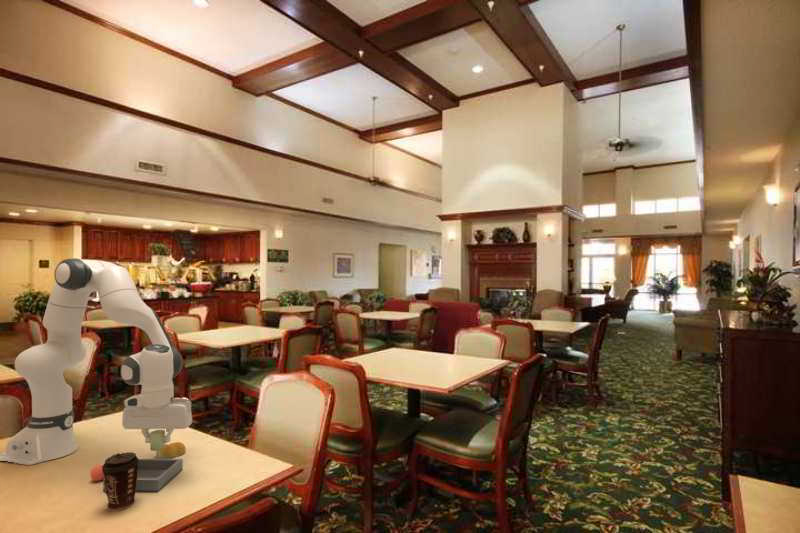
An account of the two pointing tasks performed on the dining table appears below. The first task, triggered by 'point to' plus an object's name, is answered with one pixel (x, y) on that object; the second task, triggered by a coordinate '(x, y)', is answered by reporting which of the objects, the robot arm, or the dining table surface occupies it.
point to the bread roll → (171, 450)
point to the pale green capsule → (157, 440)
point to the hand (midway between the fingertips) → (157, 442)
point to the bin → (156, 473)
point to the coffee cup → (120, 480)
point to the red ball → (97, 473)
